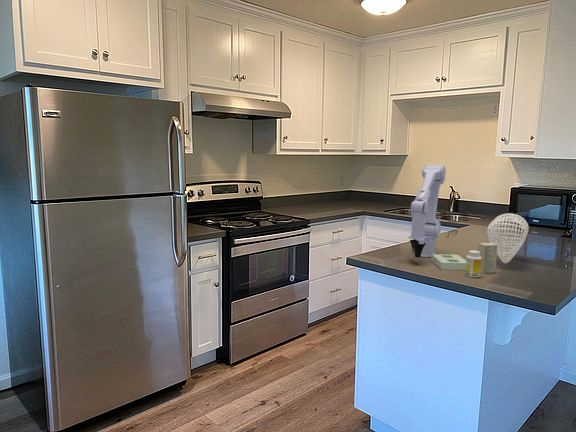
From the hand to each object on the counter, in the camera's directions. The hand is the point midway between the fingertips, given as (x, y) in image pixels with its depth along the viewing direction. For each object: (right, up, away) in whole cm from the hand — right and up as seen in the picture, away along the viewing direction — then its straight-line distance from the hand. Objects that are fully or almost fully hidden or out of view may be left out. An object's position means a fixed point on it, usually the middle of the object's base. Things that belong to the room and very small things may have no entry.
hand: (416, 256), depth 195 cm
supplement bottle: (+17, -6, -20) cm, 27 cm away
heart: (+41, -3, +1) cm, 41 cm away
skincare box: (+25, -5, -14) cm, 29 cm away
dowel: (0, -3, 0) cm, 3 cm away
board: (+14, -4, -3) cm, 15 cm away
